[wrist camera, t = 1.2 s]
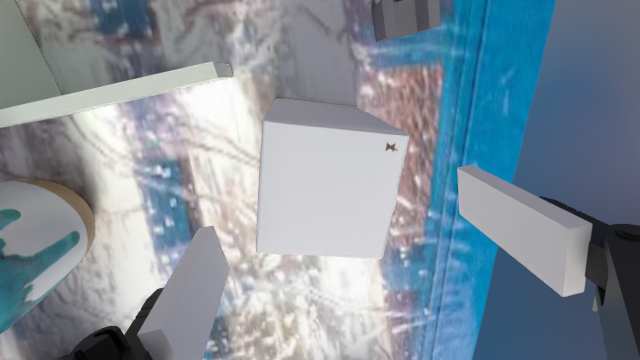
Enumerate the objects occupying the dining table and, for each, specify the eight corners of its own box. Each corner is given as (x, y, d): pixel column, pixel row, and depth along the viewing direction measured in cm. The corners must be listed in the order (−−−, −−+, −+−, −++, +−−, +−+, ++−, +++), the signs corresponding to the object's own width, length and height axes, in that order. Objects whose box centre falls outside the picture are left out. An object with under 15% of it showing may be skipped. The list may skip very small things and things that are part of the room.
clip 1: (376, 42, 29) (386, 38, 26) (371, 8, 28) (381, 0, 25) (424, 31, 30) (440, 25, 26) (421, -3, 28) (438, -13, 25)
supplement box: (273, 95, 30) (260, 113, 16) (358, 105, 31) (415, 130, 17) (267, 179, 33) (251, 256, 19) (345, 186, 34) (385, 262, 20)
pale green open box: (60, 117, 29) (-8, 129, 22) (-25, -46, 24) (-142, -91, 18) (233, 77, 29) (217, 77, 23) (183, -91, 24) (144, -151, 18)
